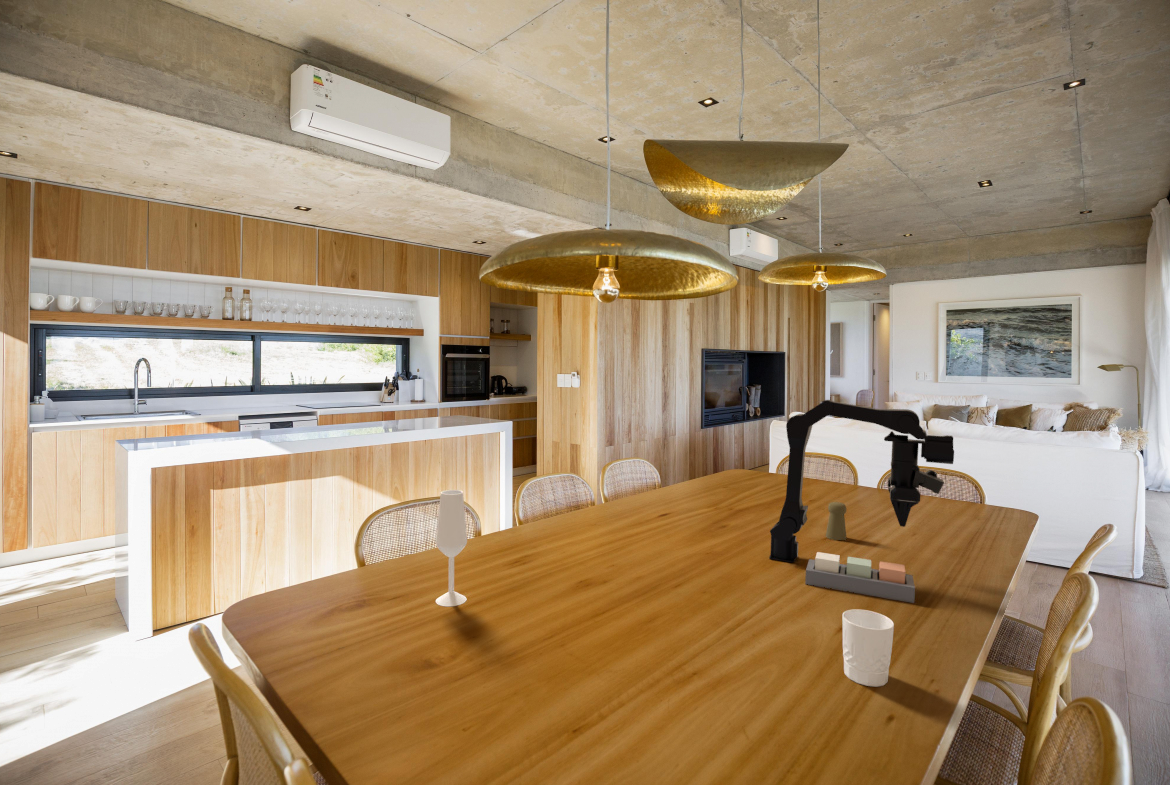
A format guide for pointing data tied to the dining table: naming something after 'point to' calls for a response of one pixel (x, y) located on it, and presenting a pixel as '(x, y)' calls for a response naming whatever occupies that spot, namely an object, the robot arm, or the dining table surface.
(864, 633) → the white cup
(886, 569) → the terracotta key
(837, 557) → the cream key
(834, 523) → the olive pepper mill
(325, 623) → the dining table surface
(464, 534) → the champagne flute
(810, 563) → the keypad
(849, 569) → the sage key
